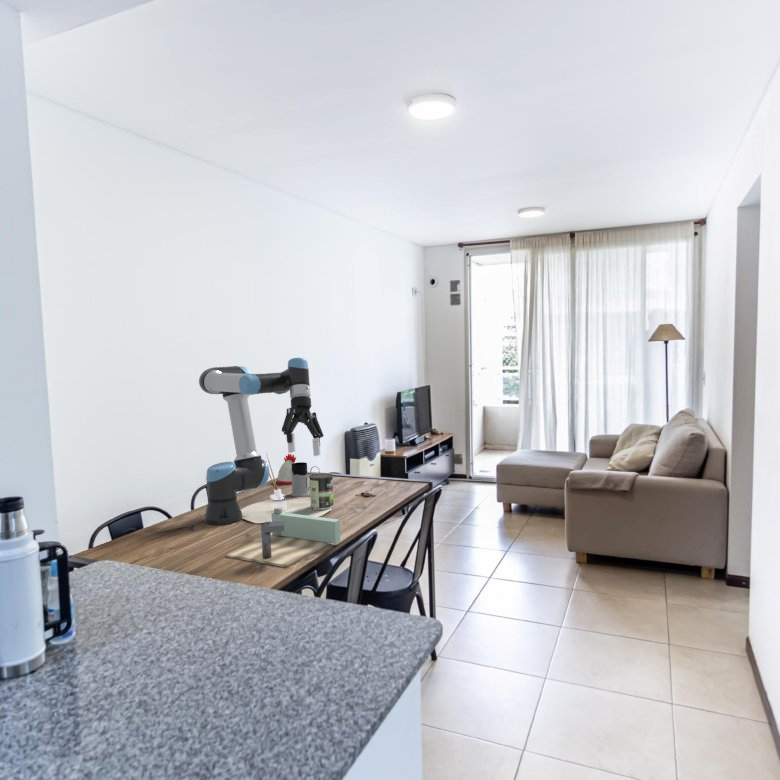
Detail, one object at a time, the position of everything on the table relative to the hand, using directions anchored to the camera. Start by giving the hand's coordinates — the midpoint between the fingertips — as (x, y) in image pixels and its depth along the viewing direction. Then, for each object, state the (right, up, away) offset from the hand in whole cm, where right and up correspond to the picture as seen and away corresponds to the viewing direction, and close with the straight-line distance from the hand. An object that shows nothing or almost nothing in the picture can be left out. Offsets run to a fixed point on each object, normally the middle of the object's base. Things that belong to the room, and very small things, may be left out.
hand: (304, 453), depth 210 cm
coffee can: (+1, -29, +47) cm, 55 cm away
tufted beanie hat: (-22, -26, +99) cm, 105 cm away
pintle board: (-7, -33, -6) cm, 34 cm away
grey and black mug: (-10, -28, +70) cm, 76 cm away
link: (0, -31, +1) cm, 31 cm away
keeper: (-7, -33, -16) cm, 38 cm away
